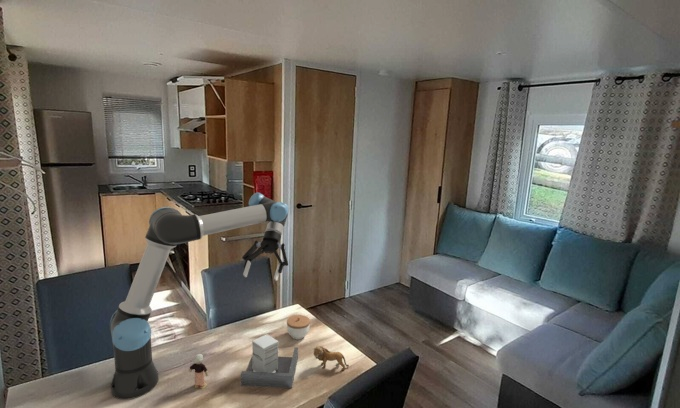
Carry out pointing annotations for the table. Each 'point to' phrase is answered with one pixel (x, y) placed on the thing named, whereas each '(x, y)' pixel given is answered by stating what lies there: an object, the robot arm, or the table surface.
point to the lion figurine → (329, 356)
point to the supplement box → (265, 354)
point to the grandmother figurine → (199, 371)
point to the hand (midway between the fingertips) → (260, 277)
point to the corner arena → (272, 374)
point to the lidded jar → (298, 326)
